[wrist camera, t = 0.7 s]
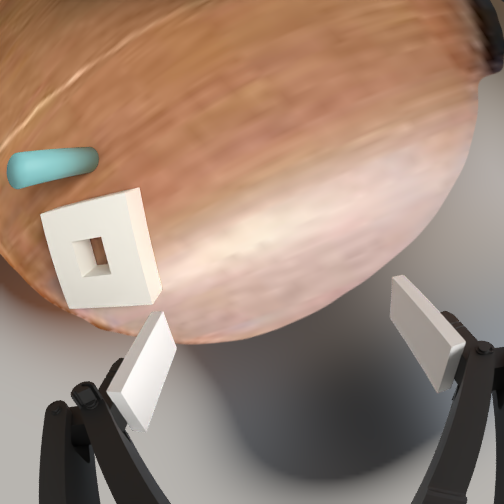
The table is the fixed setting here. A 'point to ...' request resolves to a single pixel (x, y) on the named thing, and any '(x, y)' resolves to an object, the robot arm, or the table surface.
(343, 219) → the table surface
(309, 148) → the table surface
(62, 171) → the peg
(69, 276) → the socket board
